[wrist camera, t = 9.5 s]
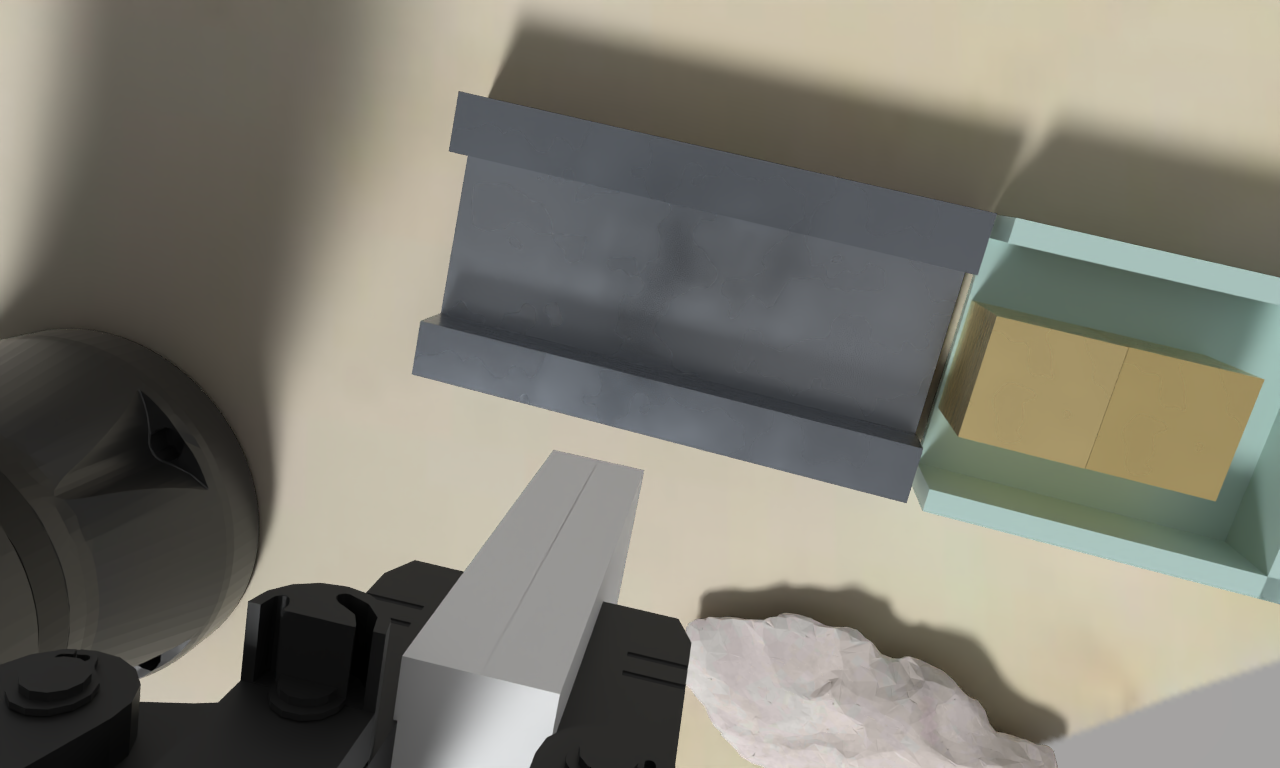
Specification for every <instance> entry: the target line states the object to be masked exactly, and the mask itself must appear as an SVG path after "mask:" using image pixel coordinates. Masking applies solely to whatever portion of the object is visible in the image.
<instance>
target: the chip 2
mask: <svg viewBox="0 0 1280 768" xmlns="http://www.w3.org/2000/svg"><path fill="white" fill-rule="evenodd" d="M1087 328H1089V327H1087ZM1089 329H1091V330H1093V331H1095V332H1098V333H1100V334H1102V335H1104V336H1106V337H1108V338H1110V339H1112V340H1114V341H1116V342H1118V343H1121V344H1123V345H1125V346H1127V347H1129V348H1128V351H1127V354H1126V356H1125V359H1124V362H1123V365H1122V367H1121V370H1120V373H1119V376H1118V379H1117V381H1116V384H1115V387H1114V390H1113V392H1112V395H1111V398H1110V401H1109V403H1108V406H1107V409H1106V412H1105V415H1104V417H1103V420H1102V423H1101V426H1100V428H1099V431H1098V434H1097V437H1096V439H1095V442H1094V445H1093V448H1092V451H1091V453H1090V456H1089V459H1088V462H1087V464H1086V467H1085V469H1089V470H1093V471H1097V472H1101V473H1105V474H1109V475H1113V476H1117V477H1121V478H1125V479H1129V480H1133V481H1137V482H1140V483H1144V484H1148V485H1152V486H1156V487H1160V488H1164V489H1168V490H1172V491H1176V492H1180V493H1184V494H1188V495H1192V496H1196V497H1200V498H1204V499H1208V500H1212V501H1216V500H1217V497H1218V495H1219V492H1220V490H1221V487H1222V485H1223V482H1224V480H1225V477H1226V475H1227V472H1228V470H1229V467H1230V465H1231V462H1232V460H1233V457H1234V455H1235V452H1236V450H1237V447H1238V445H1239V442H1240V440H1241V437H1242V435H1243V432H1244V430H1245V427H1246V425H1247V422H1248V420H1249V417H1250V415H1251V412H1252V410H1253V408H1254V405H1255V403H1256V400H1257V398H1258V395H1259V393H1260V390H1261V388H1262V385H1263V383H1264V380H1265V379H1262V378H1260V377H1258V376H1255V375H1253V374H1250V373H1248V372H1245V371H1243V370H1240V369H1238V368H1236V367H1233V366H1231V365H1228V364H1226V363H1223V362H1221V361H1218V360H1216V359H1214V358H1211V357H1209V356H1206V355H1202V354H1198V353H1194V352H1190V351H1185V350H1181V349H1177V348H1173V347H1169V346H1164V345H1160V344H1156V343H1152V342H1148V341H1143V340H1139V339H1135V338H1131V337H1127V336H1122V335H1118V334H1114V333H1110V332H1105V331H1101V330H1097V329H1093V328H1089Z"/></svg>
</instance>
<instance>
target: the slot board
mask: <svg viewBox="0 0 1280 768" xmlns="http://www.w3.org/2000/svg"><path fill="white" fill-rule="evenodd" d="M449 151H450V152H454V153H458V154H463V155H467V156H468V158H467V164H466V170H465V176H464V182H463V187H462V193H461V199H460V205H459V211H458V217H457V222H456V228H455V234H454V240H453V246H452V252H451V258H450V263H449V269H448V275H447V281H446V287H445V293H444V299H443V304H442V310H441V313H440V314H438V315H435V316H432V317H430V318H427V319H425V320H422V321H421V322H420V328H419V334H418V340H417V346H416V352H415V358H414V365H413V371H412V374H413V375H417V376H421V377H424V378H428V379H432V380H436V381H440V382H444V383H447V384H451V385H455V386H459V387H463V388H467V389H470V390H474V391H478V392H482V393H486V394H490V395H493V396H497V397H501V398H505V399H509V400H513V401H517V402H520V403H524V404H528V405H532V406H536V407H540V408H543V409H547V410H551V411H555V412H559V413H563V414H566V415H570V416H574V417H578V418H582V419H586V420H589V421H593V422H597V423H601V424H605V425H609V426H612V427H616V428H620V429H624V430H628V431H632V432H635V433H639V434H643V435H647V436H651V437H655V438H658V439H662V440H666V441H670V442H674V443H678V444H681V445H685V446H689V447H693V448H697V449H701V450H705V451H708V452H712V453H716V454H720V455H724V456H728V457H731V458H735V459H739V460H743V461H747V462H751V463H754V464H758V465H762V466H766V467H770V468H774V469H777V470H781V471H785V472H789V473H793V474H797V475H800V476H804V477H808V478H812V479H816V480H820V481H823V482H827V483H831V484H835V485H839V486H843V487H846V488H850V489H854V490H858V491H862V492H866V493H870V494H873V495H877V496H881V497H885V498H889V499H893V500H896V501H900V502H904V503H907V500H908V496H909V493H910V490H911V487H912V484H913V480H914V477H915V474H916V471H917V468H918V464H919V461H920V458H921V455H922V452H923V447H922V445H921V443H920V441H919V439H918V437H917V436H916V434H915V433H916V429H917V426H918V423H919V420H920V416H921V413H922V410H923V407H924V403H925V400H926V397H927V394H928V391H929V387H930V384H931V381H932V378H933V374H934V371H935V368H936V365H937V361H938V358H939V355H940V352H941V349H942V345H943V342H944V339H945V336H946V332H947V329H948V326H949V323H950V319H951V316H952V313H953V310H954V307H955V303H956V300H957V297H958V294H959V290H960V287H961V284H962V281H963V277H964V274H965V272H966V273H970V274H974V275H978V273H979V270H980V267H981V263H982V260H983V257H984V254H985V251H986V247H987V244H988V241H989V238H990V235H991V231H992V228H993V225H994V222H995V219H996V215H997V213H992V212H988V211H983V210H979V209H975V208H970V207H966V206H961V205H957V204H953V203H948V202H944V201H939V200H935V199H931V198H926V197H922V196H917V195H913V194H909V193H904V192H900V191H895V190H891V189H887V188H882V187H878V186H873V185H869V184H865V183H860V182H856V181H851V180H847V179H843V178H838V177H834V176H829V175H825V174H821V173H816V172H812V171H807V170H803V169H799V168H794V167H790V166H785V165H781V164H777V163H772V162H768V161H764V160H759V159H755V158H750V157H746V156H742V155H737V154H733V153H728V152H724V151H720V150H715V149H711V148H706V147H702V146H698V145H693V144H689V143H684V142H680V141H676V140H671V139H667V138H662V137H658V136H654V135H649V134H645V133H640V132H636V131H632V130H627V129H623V128H618V127H614V126H610V125H605V124H601V123H596V122H592V121H588V120H583V119H579V118H574V117H570V116H566V115H561V114H557V113H552V112H548V111H544V110H539V109H535V108H530V107H526V106H522V105H517V104H513V103H508V102H504V101H500V100H495V99H491V98H486V97H482V96H478V95H473V94H469V93H464V92H460V91H459V93H458V99H457V105H456V111H455V117H454V123H453V129H452V135H451V141H450V147H449Z"/></svg>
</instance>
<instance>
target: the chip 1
mask: <svg viewBox="0 0 1280 768" xmlns="http://www.w3.org/2000/svg"><path fill="white" fill-rule="evenodd" d="M1128 348H1129V347H1127V346H1125V345H1123V344H1121V343H1118V342H1116V341H1114V340H1112V339H1110V338H1108V337H1106V336H1104V335H1102V334H1100V333H1098V332H1095V331H1093V330H1091V329H1089V328H1087V327H1083V326H1079V325H1074V324H1070V323H1066V322H1062V321H1058V320H1053V319H1049V318H1045V317H1041V316H1037V315H1032V314H1028V313H1024V312H1020V311H1015V310H1011V309H1007V308H1003V307H999V306H994V305H990V304H986V303H982V302H978V301H973V300H971V304H970V307H969V310H968V313H967V316H966V319H965V323H964V326H963V329H962V332H961V335H960V339H959V342H958V345H957V348H956V351H955V355H954V358H953V361H952V364H951V367H950V370H949V374H948V377H947V380H946V383H945V386H944V390H943V393H942V396H941V399H940V402H939V405H938V408H939V410H940V411H941V413H942V414H943V416H944V417H945V418H946V420H947V421H948V423H949V424H950V426H951V427H952V429H953V430H954V432H955V433H956V435H957V436H958V437H961V438H965V439H969V440H973V441H977V442H980V443H984V444H988V445H992V446H996V447H1000V448H1004V449H1008V450H1012V451H1016V452H1020V453H1024V454H1028V455H1032V456H1036V457H1040V458H1044V459H1048V460H1052V461H1056V462H1060V463H1064V464H1068V465H1072V466H1076V467H1079V468H1083V469H1085V467H1086V464H1087V462H1088V459H1089V456H1090V453H1091V451H1092V448H1093V445H1094V442H1095V439H1096V437H1097V434H1098V431H1099V428H1100V426H1101V423H1102V420H1103V417H1104V415H1105V412H1106V409H1107V406H1108V403H1109V401H1110V398H1111V395H1112V392H1113V390H1114V387H1115V384H1116V381H1117V379H1118V376H1119V373H1120V370H1121V367H1122V365H1123V362H1124V359H1125V356H1126V354H1127V351H1128Z"/></svg>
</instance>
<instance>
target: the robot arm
mask: <svg viewBox="0 0 1280 768" xmlns="http://www.w3.org/2000/svg"><path fill="white" fill-rule="evenodd" d="M643 474H644V470H641V469H637V468H632V467H628V466H623V465H619V464H614V463H610V462H605V461H601V460H596V459H592V458H587V457H583V456H578V455H574V454H569V453H565V452H560V451H556V450H553V451H552V453H551V454H550V455H549V457H548V458H547V460H546V461H545V462H544V464H543V465H542V466H541V468H540V469H539V470H538V472H537V473H536V474H535V476H534V477H533V479H532V480H531V481H530V483H529V484H528V485H527V487H526V488H525V489H524V491H523V492H522V494H521V495H520V496H519V498H518V499H517V500H516V502H515V503H514V504H513V506H512V507H511V508H510V510H509V511H508V513H507V514H506V515H505V517H504V518H503V519H502V521H501V522H500V523H499V525H498V526H497V528H496V529H495V530H494V532H493V533H492V534H491V536H490V537H489V538H488V540H487V541H486V542H485V544H484V545H483V547H482V548H481V549H480V551H479V552H478V553H477V555H476V556H475V557H474V559H473V560H472V562H471V563H470V564H469V566H468V567H467V568H466V570H465V571H464V572H463V571H459V570H454V569H450V568H446V567H442V566H437V565H433V564H429V563H425V562H420V561H416V560H414V561H412V562H410V563H407V564H405V565H403V566H400V567H398V568H395V569H393V570H391V571H388V572H386V573H384V574H383V575H382V576H381V577H380V578H379V580H378V581H377V582H376V583H375V584H374V585H373V586H372V587H371V588H370V589H369V590H368V591H367V592H366V593H364V592H361V591H358V590H356V589H353V588H350V587H347V586H339V585H332V584H324V583H311V584H292V585H288V586H284V587H280V588H276V589H272V590H268V591H266V592H264V593H263V594H261V595H259V596H257V597H255V598H254V599H252V600H250V601H248V609H247V619H246V630H245V640H244V650H243V661H242V671H241V681H240V682H239V683H238V684H237V685H236V686H235V687H234V688H233V689H232V690H230V691H229V692H228V693H227V694H226V695H225V696H224V697H223V698H222V699H221V700H220V701H219V702H218V703H195V704H193V703H159V702H139V701H140V686H141V684H140V681H139V679H141V678H143V677H146V676H149V675H151V674H153V673H155V672H157V671H159V670H161V669H163V668H165V667H167V666H168V665H170V664H172V663H174V662H175V661H177V660H178V659H179V658H181V657H182V656H184V655H185V654H186V653H188V652H189V651H190V650H191V649H193V648H194V647H195V646H196V645H198V644H199V643H200V642H202V641H203V640H204V639H205V638H207V637H208V636H209V635H211V634H212V633H213V632H214V631H215V630H216V629H217V628H219V627H220V625H221V624H222V623H223V622H224V621H225V620H226V619H227V618H228V617H229V615H230V614H231V613H232V612H233V610H234V609H235V607H236V606H237V604H238V603H239V601H240V599H241V597H242V595H243V594H244V592H245V589H246V587H247V585H248V583H249V580H250V577H251V574H252V571H253V567H254V563H255V559H256V554H257V548H258V537H259V518H258V506H257V499H256V493H255V489H254V484H253V480H252V477H251V473H250V470H249V467H248V464H247V461H246V459H245V456H244V454H243V452H242V449H241V447H240V445H239V443H238V441H237V439H236V437H235V435H234V433H233V432H232V430H231V428H230V427H229V425H228V423H227V422H226V420H225V419H224V417H223V416H222V414H221V413H220V411H219V410H218V409H217V407H216V406H215V405H214V404H213V402H212V401H211V400H210V399H209V398H208V396H207V395H206V394H205V393H204V392H203V391H202V390H201V389H200V388H199V387H198V386H197V385H196V384H195V383H194V382H193V381H192V380H191V379H190V378H189V377H188V376H187V375H185V374H184V373H183V372H182V371H181V370H179V369H178V368H177V367H175V366H174V365H173V364H172V363H170V362H169V361H167V360H166V359H164V358H163V357H161V356H160V355H158V354H156V353H154V352H153V351H151V350H149V349H147V348H145V347H143V346H141V345H139V344H137V343H135V342H132V341H130V340H127V339H125V338H122V337H119V336H115V335H112V334H109V333H104V332H100V331H94V330H87V329H74V328H66V329H52V330H45V331H40V332H35V333H30V334H25V335H20V336H15V337H10V338H5V339H1V340H0V768H675V761H676V754H677V746H678V739H679V731H680V724H681V717H682V709H683V702H684V695H685V686H686V680H687V673H688V665H689V658H690V650H691V643H692V642H691V641H690V639H689V637H688V635H687V633H686V632H685V630H684V628H683V626H682V625H681V623H680V621H679V619H676V618H672V617H668V616H664V615H659V614H655V613H651V612H647V611H642V610H638V609H634V608H629V607H625V606H621V605H617V602H618V597H619V592H620V588H621V583H622V578H623V573H624V568H625V563H626V558H627V553H628V548H629V543H630V538H631V533H632V528H633V523H634V518H635V513H636V508H637V503H638V499H639V494H640V489H641V484H642V479H643Z"/></svg>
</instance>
